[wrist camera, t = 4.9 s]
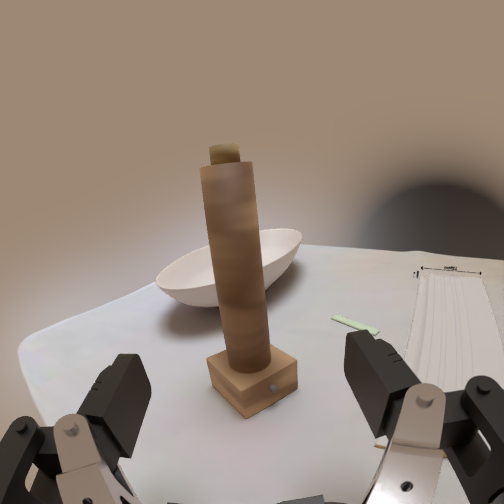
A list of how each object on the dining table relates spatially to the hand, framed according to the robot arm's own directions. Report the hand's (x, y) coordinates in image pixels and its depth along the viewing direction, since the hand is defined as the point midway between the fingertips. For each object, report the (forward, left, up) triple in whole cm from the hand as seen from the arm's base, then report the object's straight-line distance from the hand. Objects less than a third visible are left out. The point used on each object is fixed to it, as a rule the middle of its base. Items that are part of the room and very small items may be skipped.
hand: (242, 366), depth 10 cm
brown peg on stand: (-5, -8, -9) cm, 13 cm away
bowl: (-17, -26, -10) cm, 32 cm away
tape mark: (-18, -8, -9) cm, 22 cm away
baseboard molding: (-23, +3, -10) cm, 25 cm away
